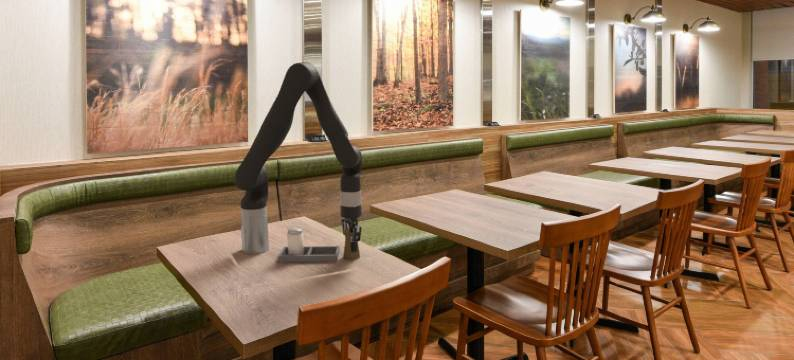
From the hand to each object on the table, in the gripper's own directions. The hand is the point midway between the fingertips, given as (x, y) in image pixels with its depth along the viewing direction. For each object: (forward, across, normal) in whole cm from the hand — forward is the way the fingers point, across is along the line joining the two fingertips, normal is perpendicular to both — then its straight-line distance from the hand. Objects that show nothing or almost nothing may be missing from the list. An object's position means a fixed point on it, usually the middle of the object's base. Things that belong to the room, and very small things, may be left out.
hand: (351, 249), depth 194 cm
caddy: (+4, -7, -13) cm, 15 cm away
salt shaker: (+3, -9, -18) cm, 20 cm away
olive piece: (+3, 0, 0) cm, 3 cm away
